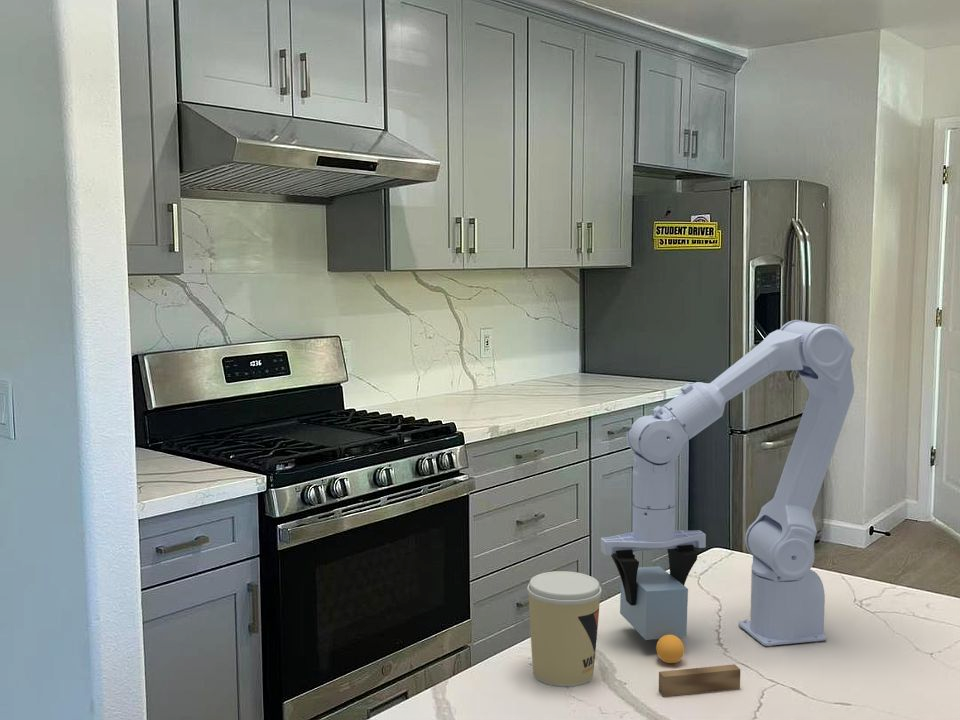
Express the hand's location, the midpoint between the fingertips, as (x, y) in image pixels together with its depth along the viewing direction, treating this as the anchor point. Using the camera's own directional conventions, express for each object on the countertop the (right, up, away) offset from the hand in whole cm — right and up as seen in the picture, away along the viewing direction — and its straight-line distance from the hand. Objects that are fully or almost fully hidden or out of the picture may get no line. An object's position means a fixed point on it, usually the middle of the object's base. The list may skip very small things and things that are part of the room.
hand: (653, 601), depth 131 cm
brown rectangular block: (+3, -7, -15) cm, 17 cm away
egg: (+1, -5, -7) cm, 8 cm away
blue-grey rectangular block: (0, -3, 0) cm, 3 cm away
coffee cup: (-13, -7, -10) cm, 18 cm away
